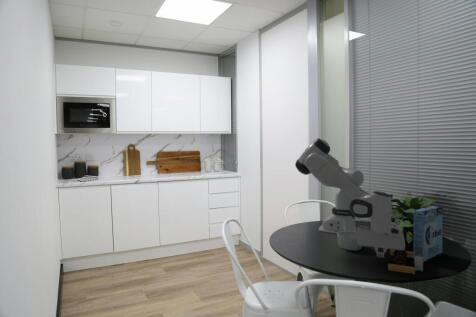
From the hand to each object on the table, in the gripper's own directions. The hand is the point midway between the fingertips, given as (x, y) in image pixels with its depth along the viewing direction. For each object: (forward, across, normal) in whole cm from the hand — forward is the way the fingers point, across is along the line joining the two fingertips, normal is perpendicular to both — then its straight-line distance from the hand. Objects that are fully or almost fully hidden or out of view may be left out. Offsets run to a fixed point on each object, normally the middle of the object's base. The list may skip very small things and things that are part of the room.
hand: (380, 256), depth 150 cm
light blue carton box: (+2, +20, +15) cm, 25 cm away
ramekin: (+2, -15, +14) cm, 21 cm away
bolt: (+2, +8, 0) cm, 8 cm away
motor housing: (+2, +10, -1) cm, 10 cm away
